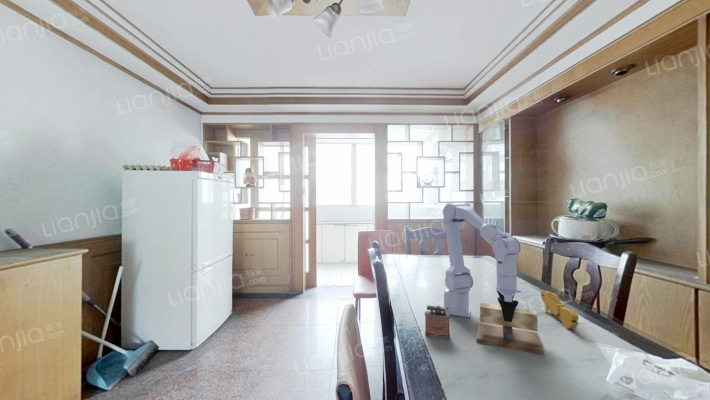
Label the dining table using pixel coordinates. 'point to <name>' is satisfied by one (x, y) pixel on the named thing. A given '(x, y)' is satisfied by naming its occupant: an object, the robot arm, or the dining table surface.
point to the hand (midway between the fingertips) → (507, 316)
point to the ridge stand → (509, 338)
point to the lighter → (437, 322)
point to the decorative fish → (559, 310)
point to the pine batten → (520, 317)
